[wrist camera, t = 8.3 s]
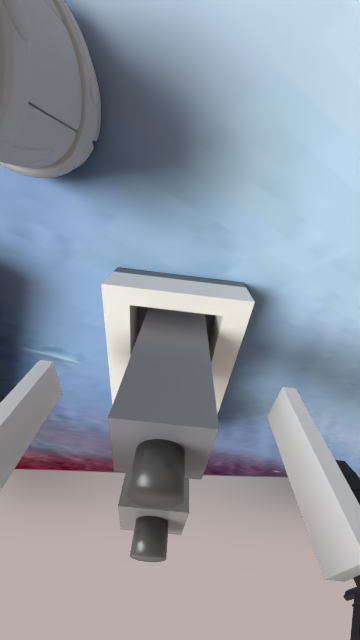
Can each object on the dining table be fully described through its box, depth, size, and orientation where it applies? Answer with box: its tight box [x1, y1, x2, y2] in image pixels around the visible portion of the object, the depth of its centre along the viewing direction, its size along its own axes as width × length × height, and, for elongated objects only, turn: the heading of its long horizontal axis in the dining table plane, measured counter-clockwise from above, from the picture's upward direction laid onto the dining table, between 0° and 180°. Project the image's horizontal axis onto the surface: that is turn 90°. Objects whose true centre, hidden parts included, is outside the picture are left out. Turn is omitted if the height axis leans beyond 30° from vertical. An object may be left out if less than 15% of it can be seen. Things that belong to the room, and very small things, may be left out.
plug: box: [108, 307, 219, 508], centre depth 13 cm, size 4×4×12 cm
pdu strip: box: [101, 268, 255, 415], centre depth 19 cm, size 10×18×4 cm, turn 174°
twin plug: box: [118, 472, 189, 562], centre depth 18 cm, size 4×4×12 cm
